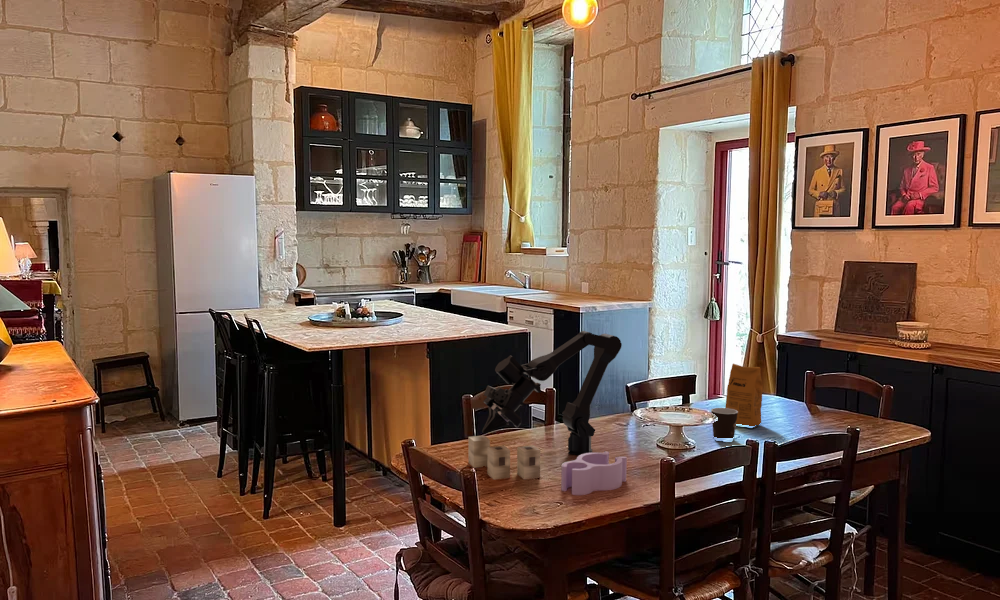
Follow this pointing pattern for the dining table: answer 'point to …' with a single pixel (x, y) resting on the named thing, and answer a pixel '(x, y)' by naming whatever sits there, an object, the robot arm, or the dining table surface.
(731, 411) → the coffee mug
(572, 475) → the clip
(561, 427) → the dining table surface
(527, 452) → the marked block 2
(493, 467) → the marked block 1
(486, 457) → the plain block
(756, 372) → the coffee package
